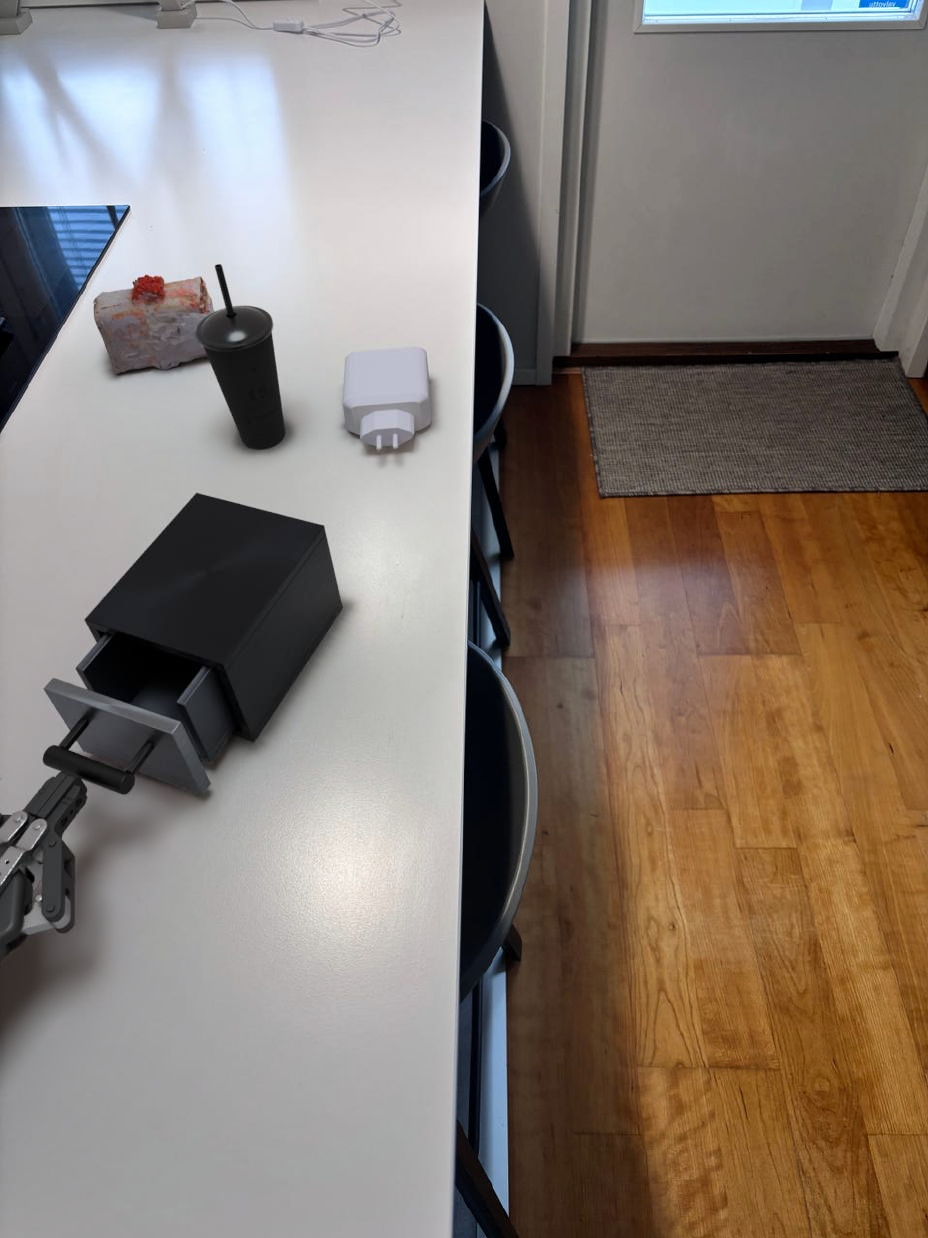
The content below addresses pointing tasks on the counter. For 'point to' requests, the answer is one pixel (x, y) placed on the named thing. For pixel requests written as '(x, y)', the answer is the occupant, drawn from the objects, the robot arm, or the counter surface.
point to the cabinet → (230, 600)
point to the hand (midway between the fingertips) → (75, 780)
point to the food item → (153, 322)
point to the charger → (386, 395)
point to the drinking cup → (245, 368)
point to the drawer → (141, 717)
